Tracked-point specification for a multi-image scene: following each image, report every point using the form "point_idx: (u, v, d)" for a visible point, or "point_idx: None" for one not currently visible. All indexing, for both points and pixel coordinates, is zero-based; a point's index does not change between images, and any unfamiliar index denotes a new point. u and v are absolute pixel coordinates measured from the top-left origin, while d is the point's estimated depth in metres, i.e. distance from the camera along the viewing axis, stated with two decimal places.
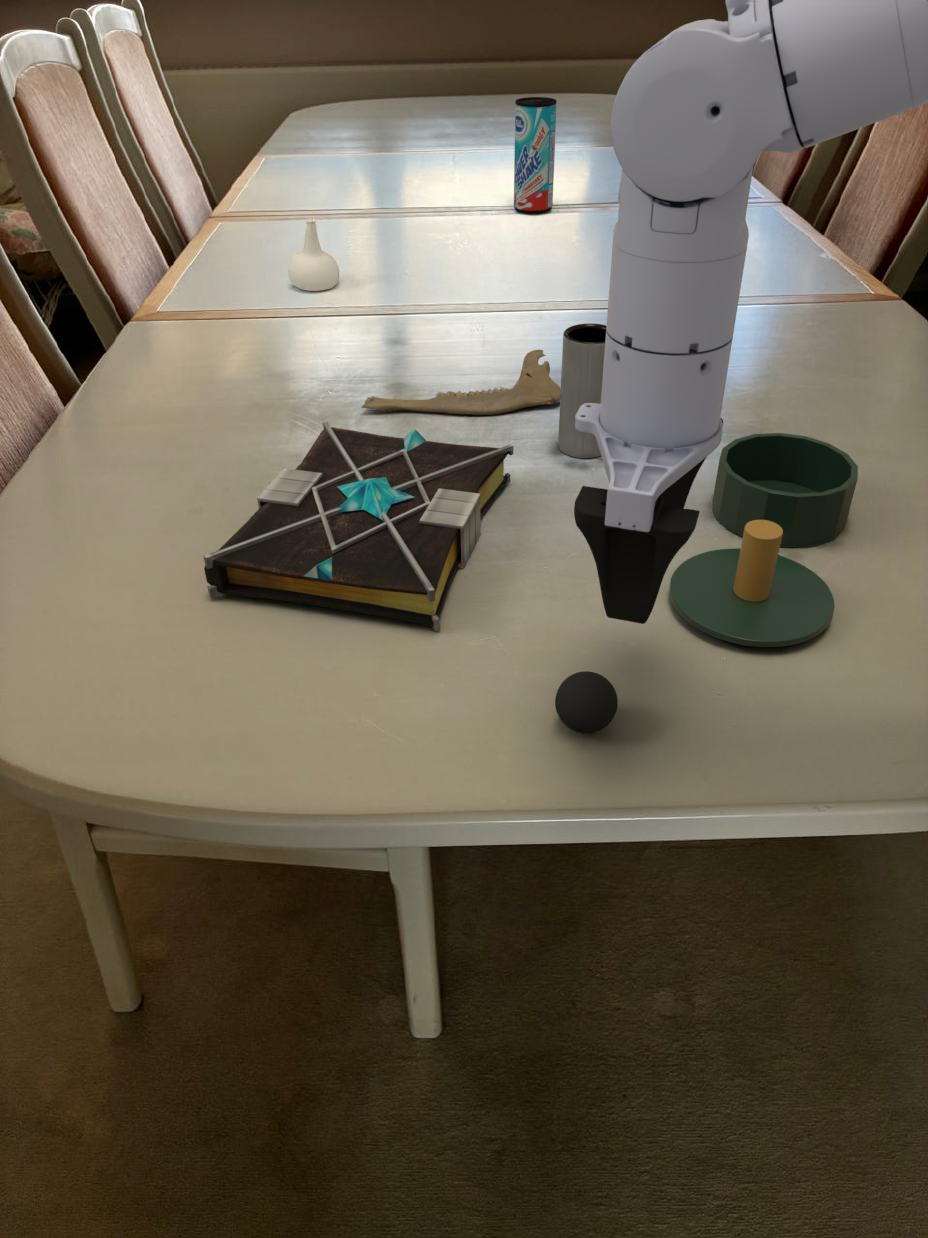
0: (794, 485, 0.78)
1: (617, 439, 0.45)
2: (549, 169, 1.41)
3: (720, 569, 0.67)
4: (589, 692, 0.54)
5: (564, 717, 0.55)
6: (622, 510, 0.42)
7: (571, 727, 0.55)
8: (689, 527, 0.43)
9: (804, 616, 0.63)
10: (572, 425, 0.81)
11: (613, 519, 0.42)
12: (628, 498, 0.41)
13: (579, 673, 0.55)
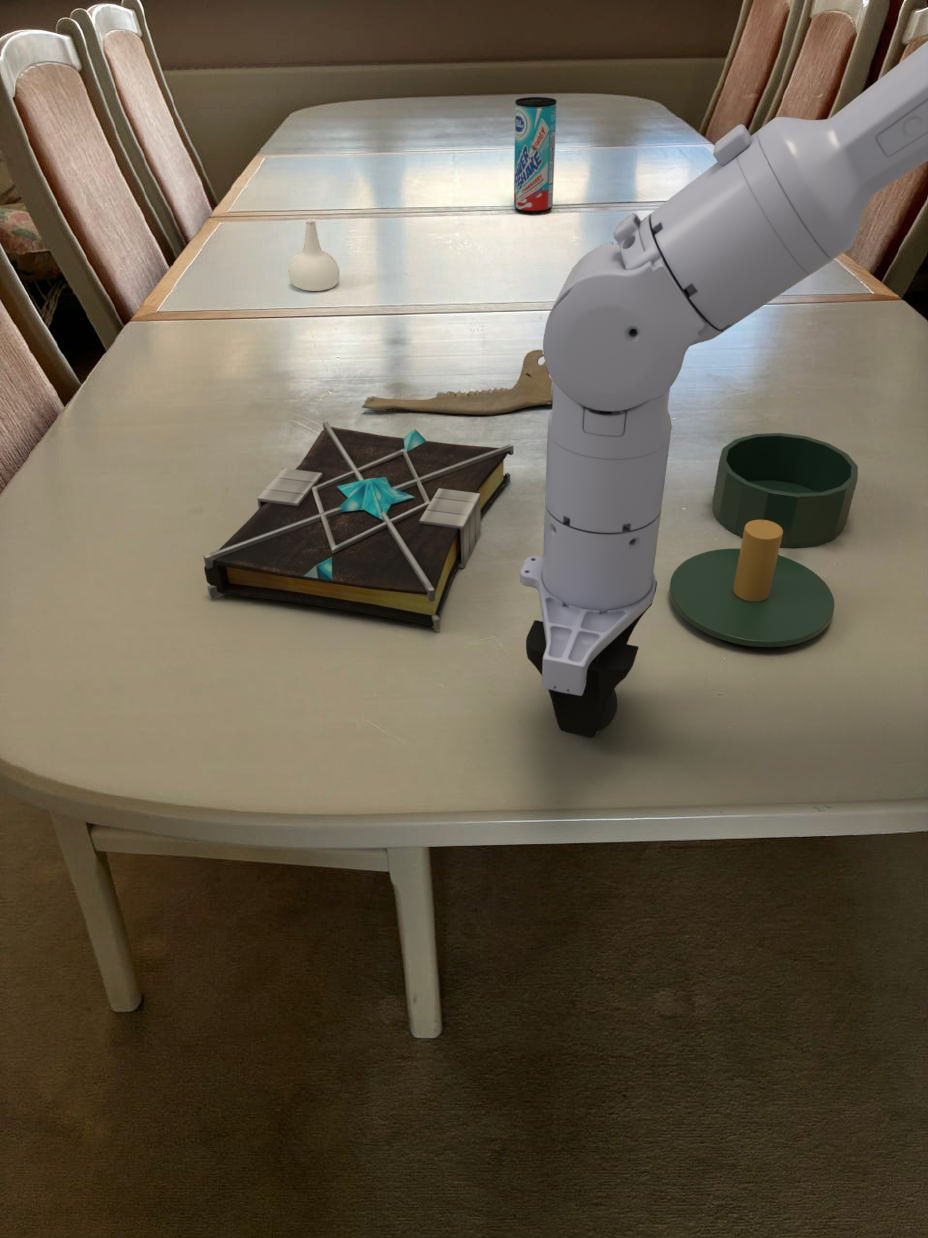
0: (794, 485, 0.78)
1: (556, 599, 0.48)
2: (549, 169, 1.41)
3: (720, 569, 0.67)
4: None
5: None
6: (556, 676, 0.45)
7: None
8: (627, 664, 0.48)
9: (804, 616, 0.63)
10: None
11: (549, 683, 0.46)
12: (561, 667, 0.45)
13: None
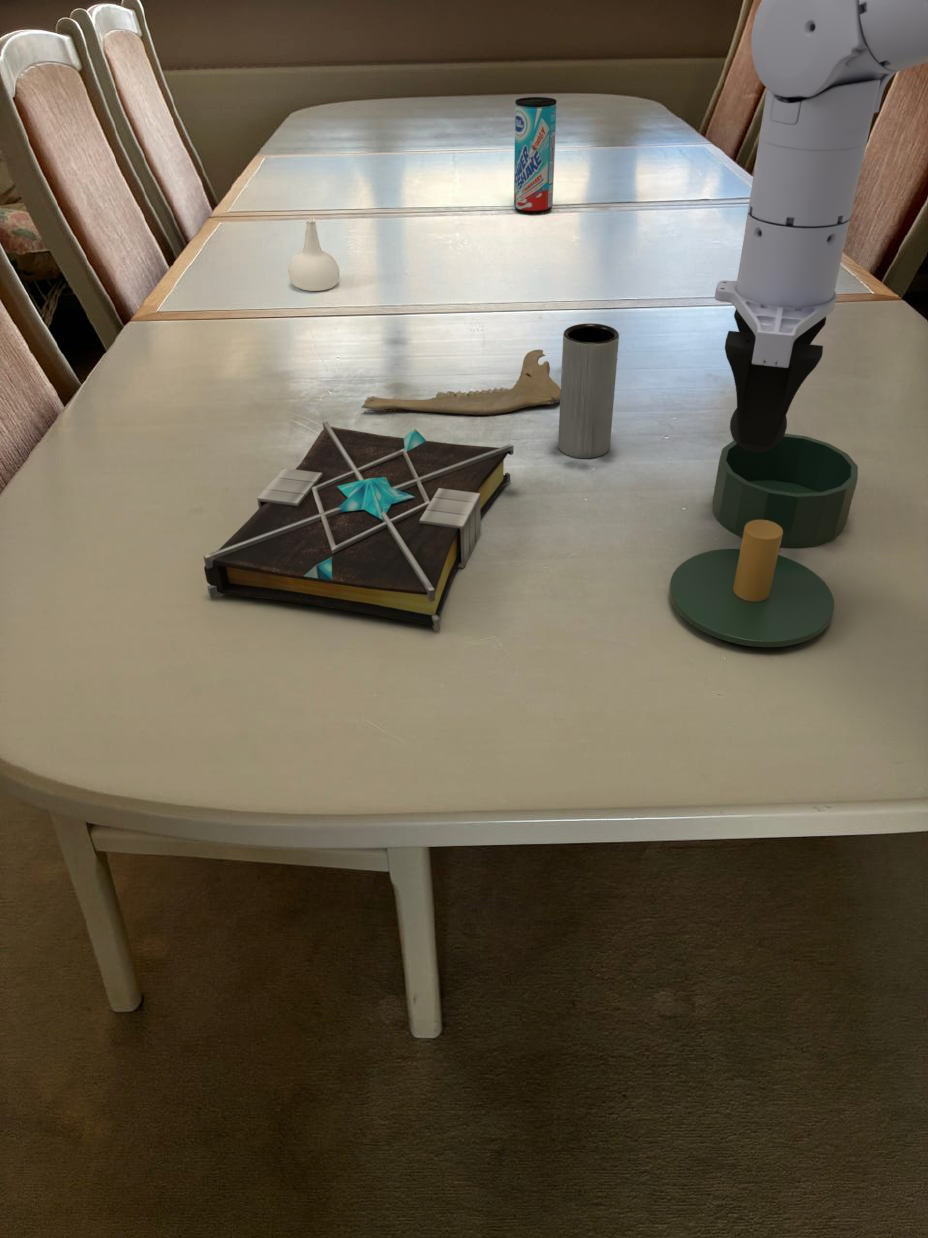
0: (794, 485, 0.78)
1: (755, 302, 0.56)
2: (549, 169, 1.41)
3: (720, 569, 0.67)
4: None
5: None
6: (767, 349, 0.53)
7: None
8: (818, 355, 0.56)
9: (804, 616, 0.63)
10: (572, 425, 0.81)
11: (759, 358, 0.54)
12: (773, 339, 0.53)
13: None
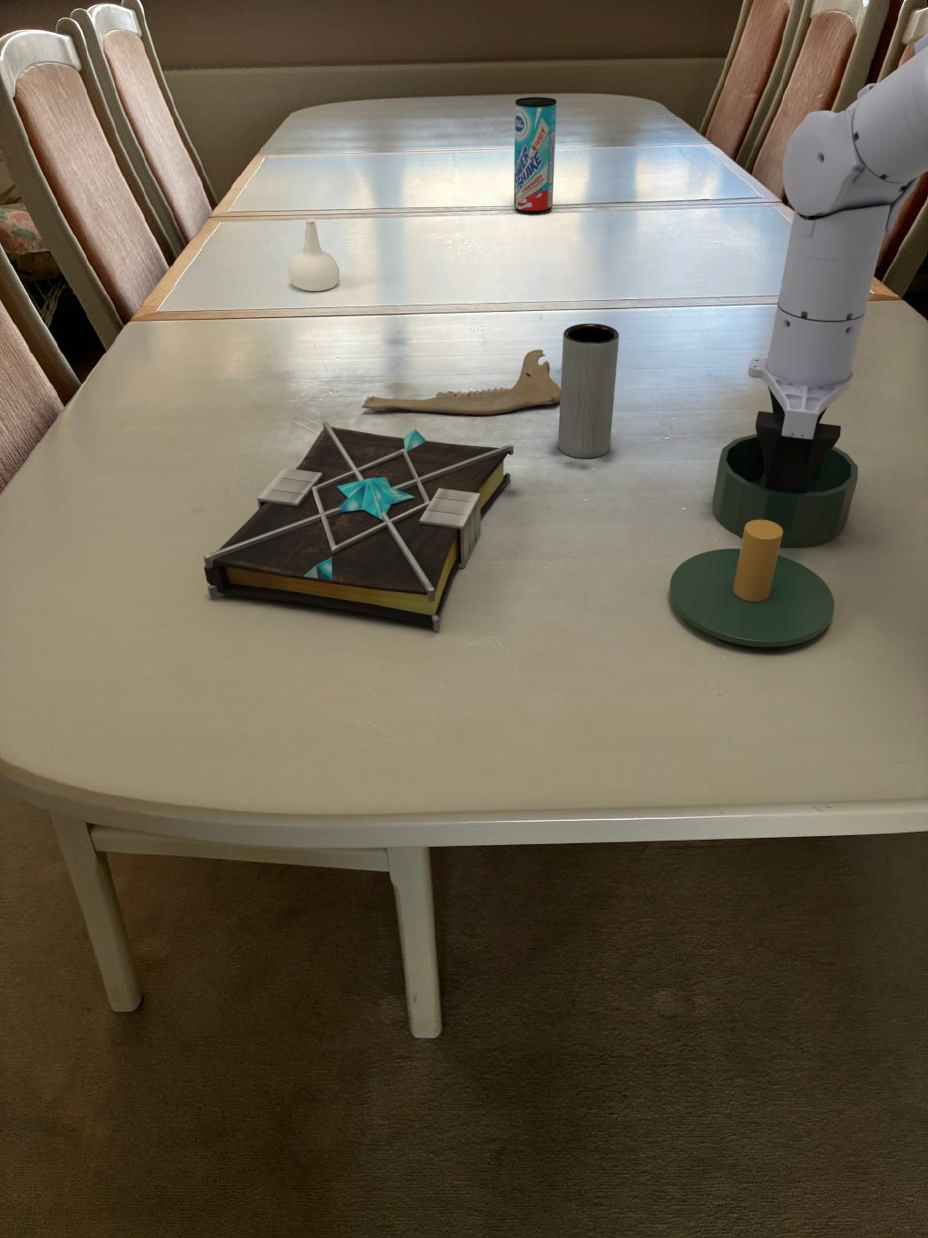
0: None
1: (783, 380, 0.66)
2: (549, 169, 1.41)
3: (720, 569, 0.67)
4: None
5: None
6: (795, 424, 0.63)
7: None
8: (836, 435, 0.65)
9: (804, 616, 0.63)
10: (572, 425, 0.81)
11: (788, 431, 0.63)
12: (800, 416, 0.63)
13: None
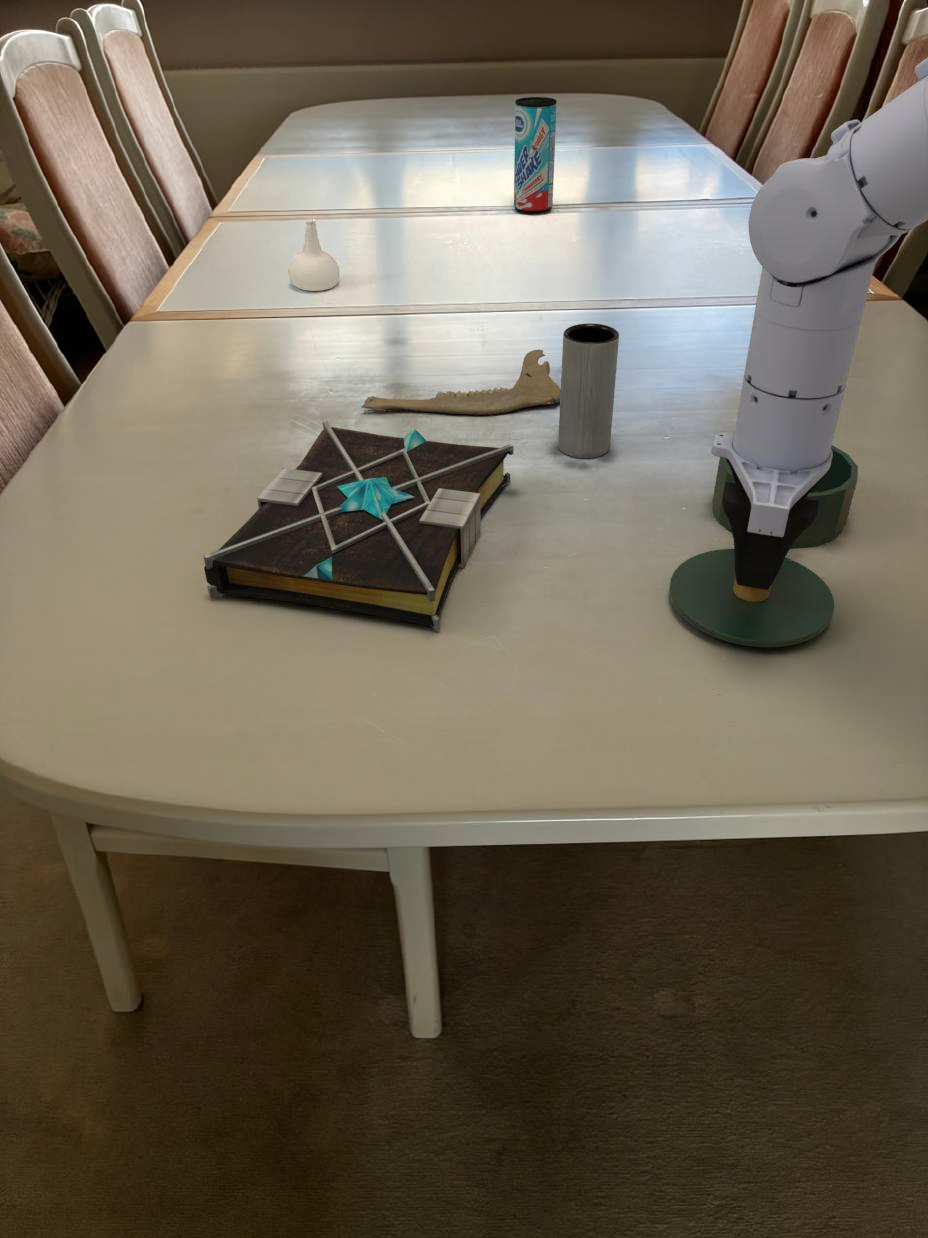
0: None
1: (751, 463, 0.57)
2: (549, 169, 1.41)
3: (720, 569, 0.67)
4: None
5: None
6: (763, 520, 0.54)
7: None
8: (814, 513, 0.57)
9: (804, 616, 0.63)
10: (572, 425, 0.81)
11: (755, 527, 0.54)
12: (769, 511, 0.53)
13: None
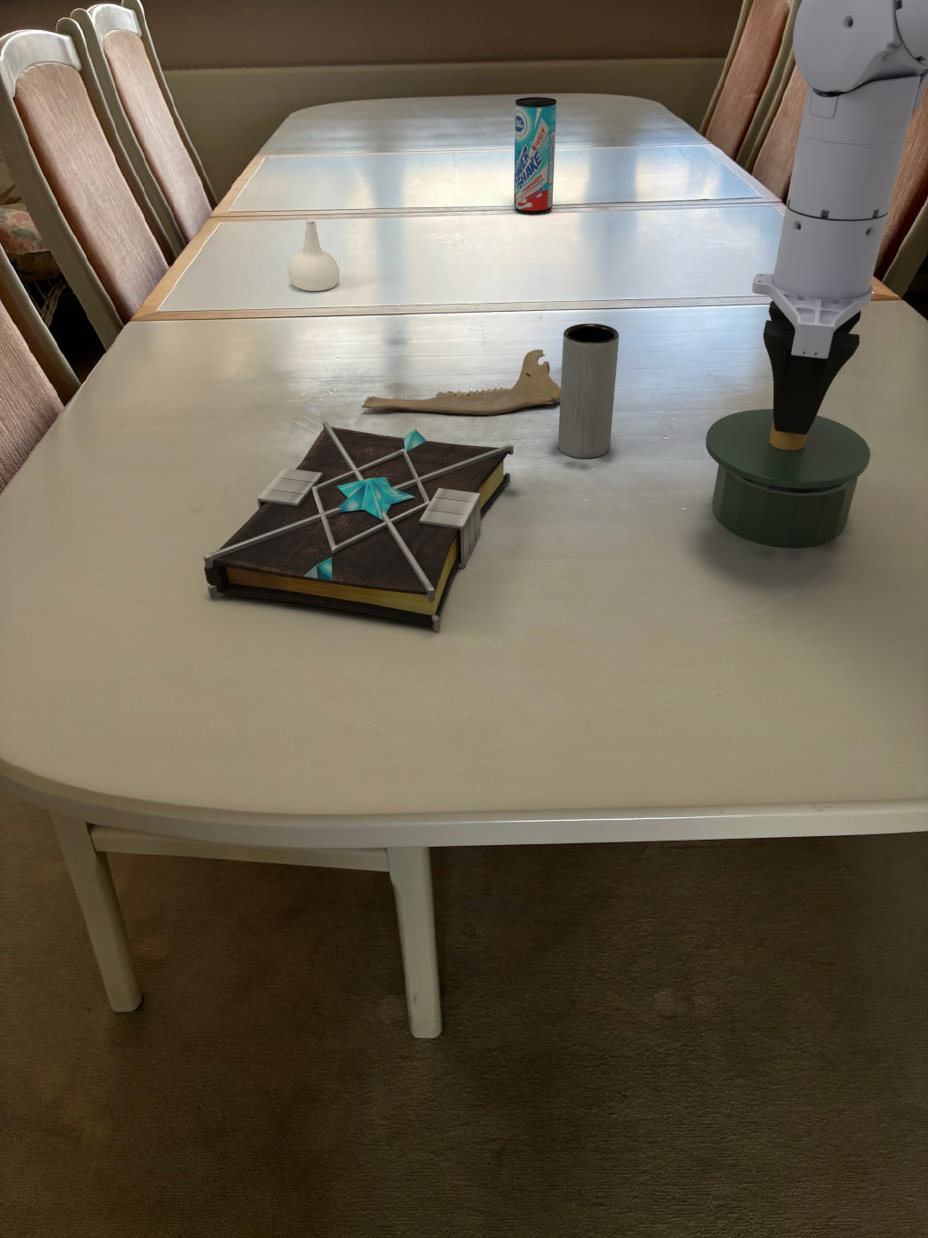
0: None
1: (793, 294, 0.57)
2: (549, 169, 1.41)
3: (755, 425, 0.68)
4: None
5: None
6: (807, 340, 0.54)
7: None
8: (855, 343, 0.57)
9: (841, 462, 0.63)
10: (572, 425, 0.81)
11: (799, 349, 0.54)
12: (813, 330, 0.54)
13: None
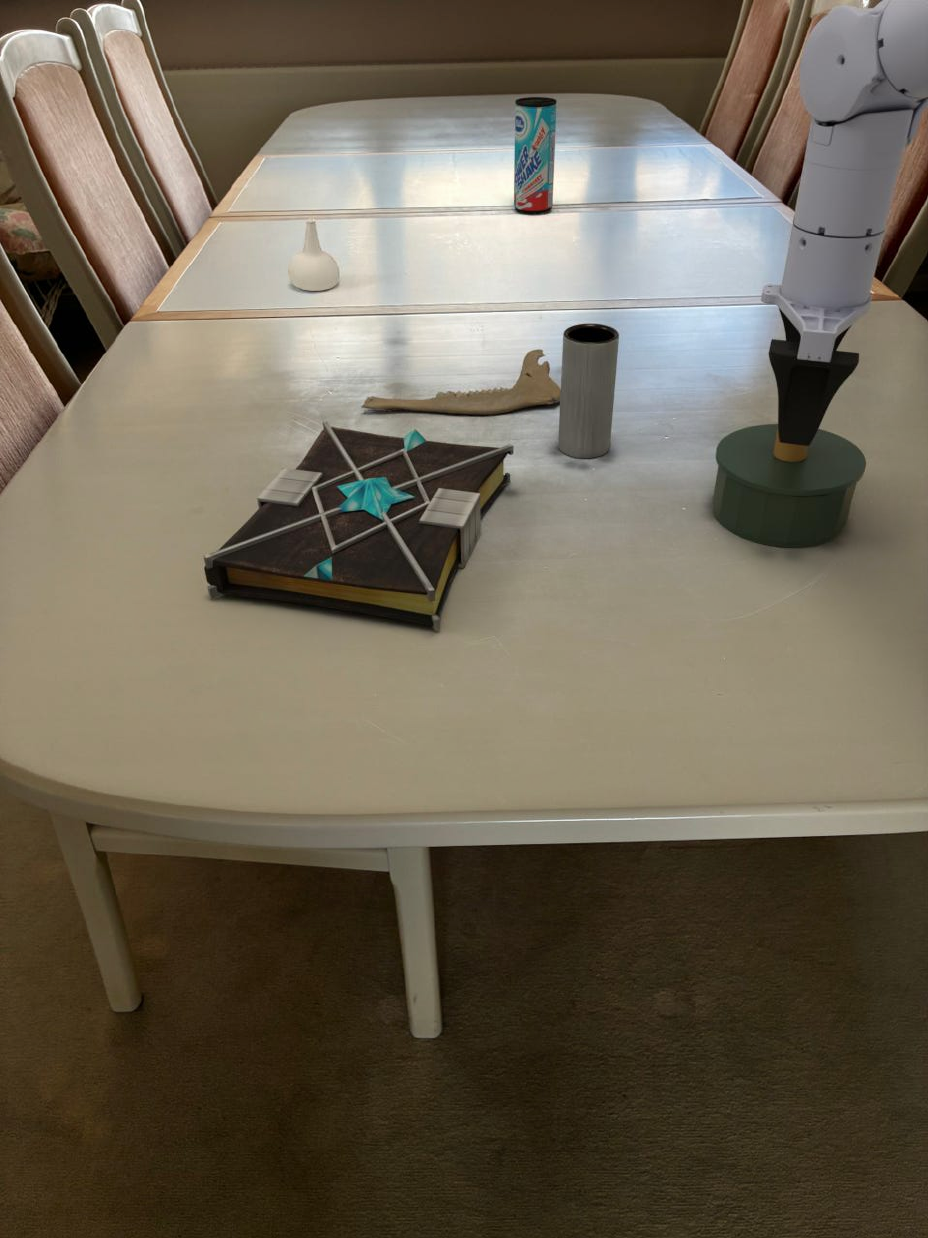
0: None
1: (798, 304, 0.63)
2: (549, 169, 1.41)
3: (761, 439, 0.74)
4: None
5: None
6: (812, 346, 0.60)
7: None
8: (855, 361, 0.61)
9: (839, 471, 0.70)
10: (572, 425, 0.81)
11: (804, 353, 0.60)
12: (817, 336, 0.59)
13: None
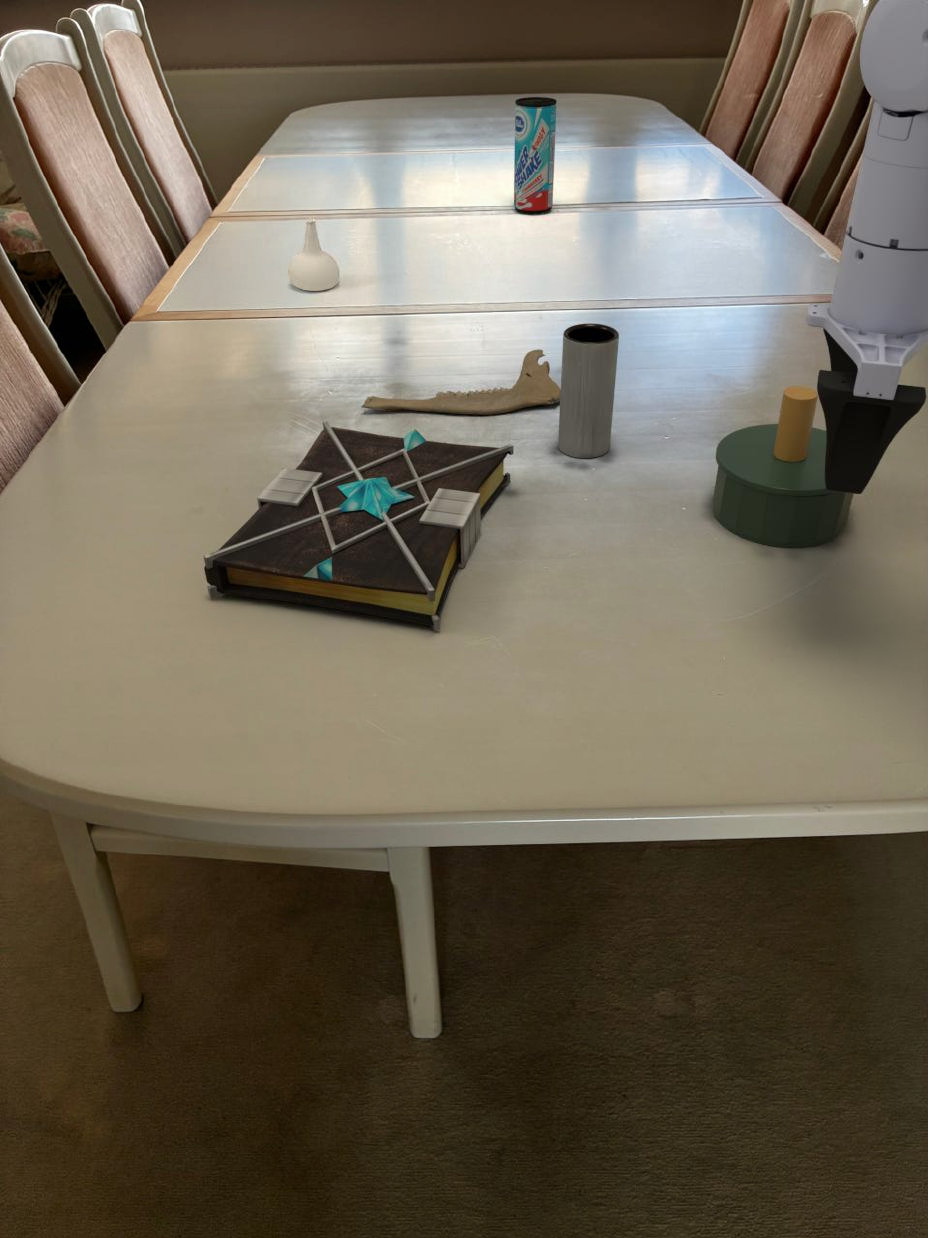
0: None
1: (852, 328, 0.53)
2: (549, 169, 1.41)
3: (761, 439, 0.74)
4: None
5: None
6: (872, 380, 0.50)
7: None
8: (922, 398, 0.51)
9: None
10: (572, 425, 0.81)
11: (862, 389, 0.50)
12: (879, 369, 0.49)
13: None
